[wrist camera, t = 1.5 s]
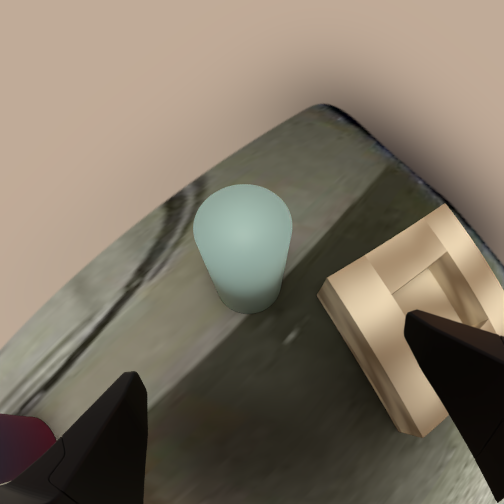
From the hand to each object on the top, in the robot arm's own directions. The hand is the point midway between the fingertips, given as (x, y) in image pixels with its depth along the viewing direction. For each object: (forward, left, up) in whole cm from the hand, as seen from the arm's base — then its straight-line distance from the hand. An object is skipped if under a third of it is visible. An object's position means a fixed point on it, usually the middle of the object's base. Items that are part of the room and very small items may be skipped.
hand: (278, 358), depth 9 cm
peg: (+7, -2, -13) cm, 15 cm away
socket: (-3, -13, -13) cm, 18 cm away
